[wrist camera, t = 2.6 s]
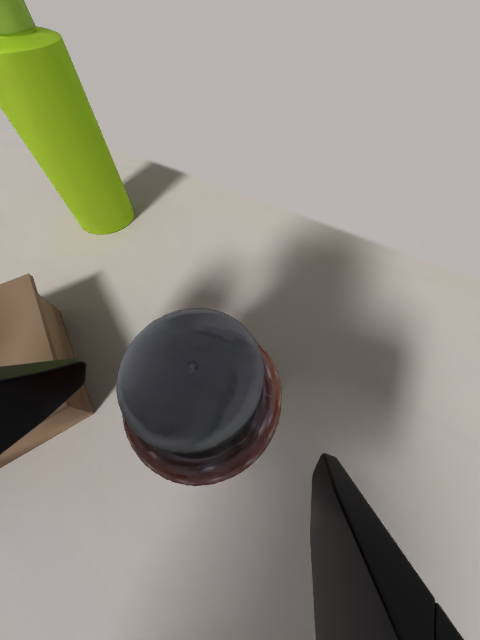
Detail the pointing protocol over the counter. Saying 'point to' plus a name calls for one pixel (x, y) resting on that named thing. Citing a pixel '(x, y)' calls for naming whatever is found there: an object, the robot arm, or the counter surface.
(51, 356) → the walnut stand
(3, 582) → the counter surface
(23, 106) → the soap dispenser
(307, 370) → the counter surface
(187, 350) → the supplement bottle
